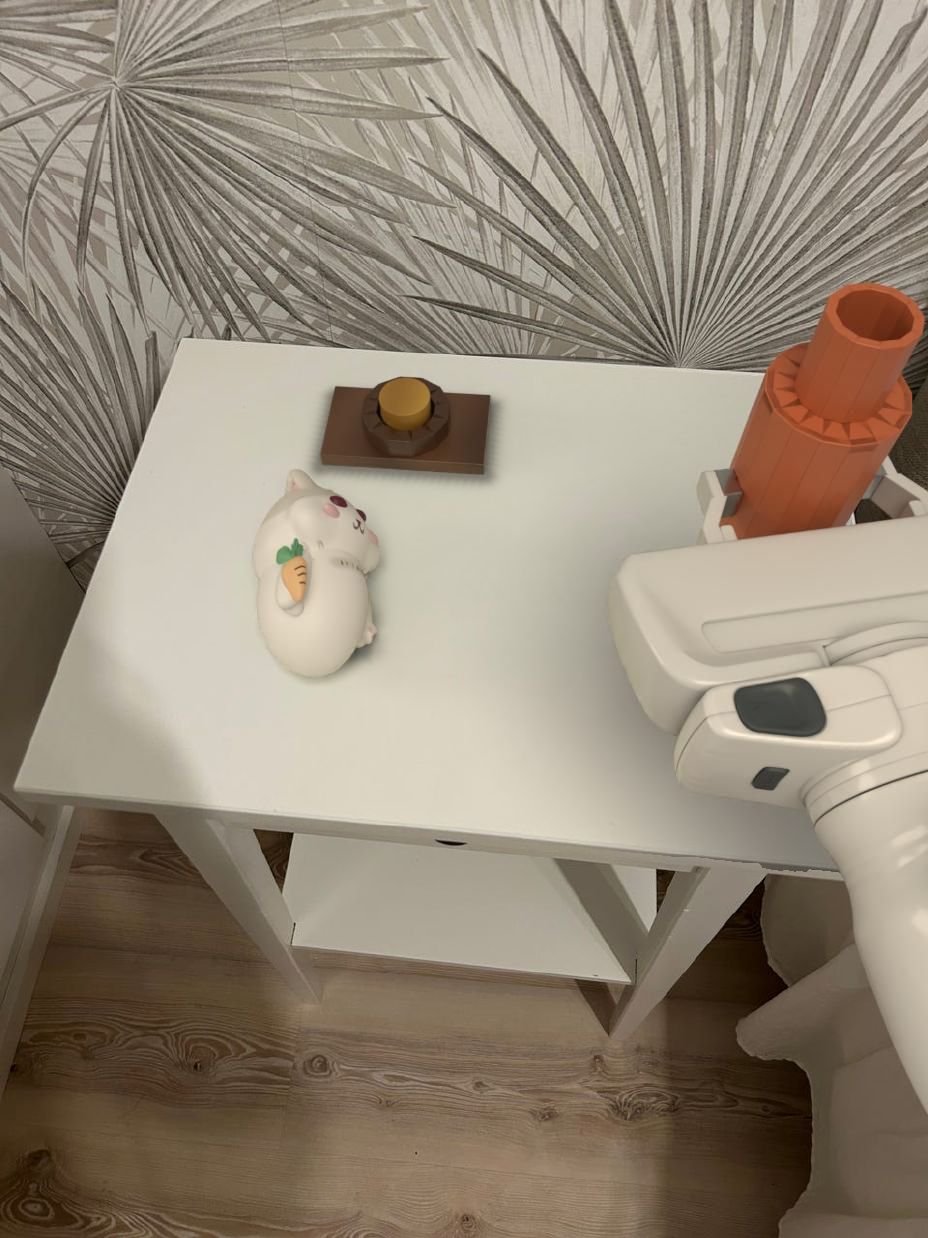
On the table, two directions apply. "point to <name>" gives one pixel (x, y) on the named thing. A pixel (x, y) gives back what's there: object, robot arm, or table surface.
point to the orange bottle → (827, 415)
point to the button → (405, 404)
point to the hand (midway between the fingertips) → (786, 467)
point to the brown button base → (407, 432)
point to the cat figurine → (314, 578)
